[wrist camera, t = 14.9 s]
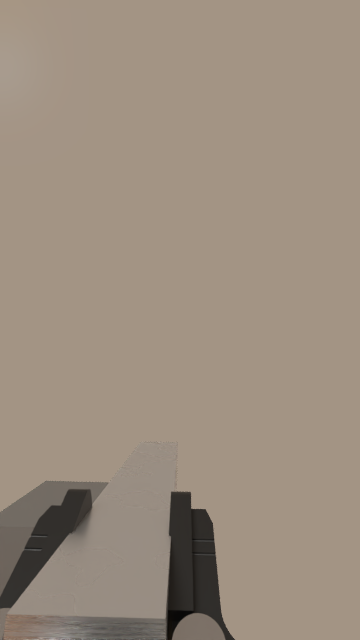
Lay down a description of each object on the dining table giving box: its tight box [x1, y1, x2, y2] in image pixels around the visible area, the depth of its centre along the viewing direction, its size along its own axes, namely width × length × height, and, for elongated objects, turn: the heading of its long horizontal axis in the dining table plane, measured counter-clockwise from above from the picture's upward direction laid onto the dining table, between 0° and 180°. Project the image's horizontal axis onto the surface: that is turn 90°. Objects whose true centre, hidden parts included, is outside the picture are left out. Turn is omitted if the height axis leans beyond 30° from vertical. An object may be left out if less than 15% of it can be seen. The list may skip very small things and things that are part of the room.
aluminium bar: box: [3, 442, 177, 640], centre depth 15 cm, size 20×3×3 cm, turn 0°
